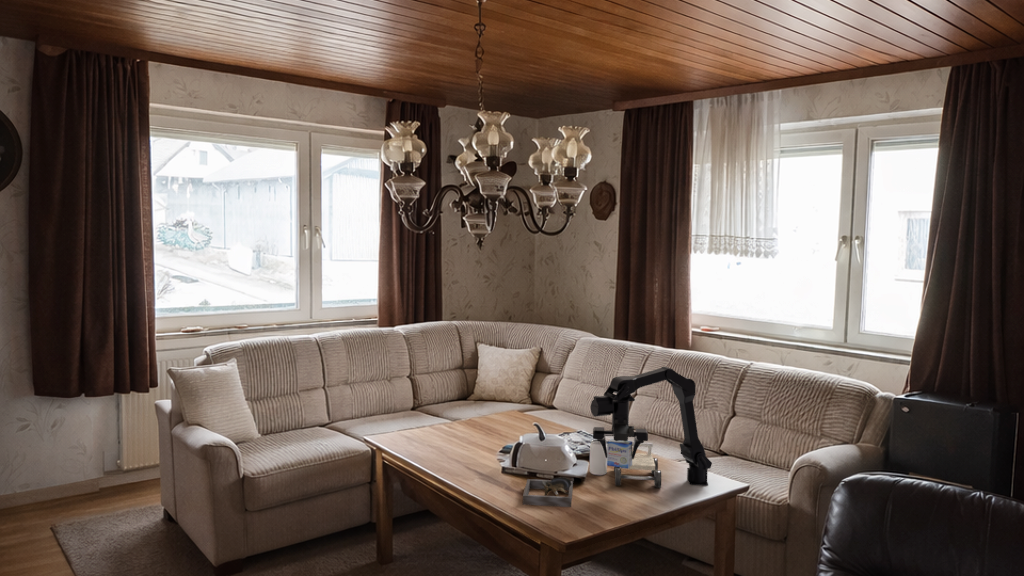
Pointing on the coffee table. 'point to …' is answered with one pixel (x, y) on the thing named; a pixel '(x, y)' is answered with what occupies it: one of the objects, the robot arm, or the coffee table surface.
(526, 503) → the gray square tray
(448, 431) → the coffee table surface
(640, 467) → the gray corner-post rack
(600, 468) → the can
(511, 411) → the coffee table surface
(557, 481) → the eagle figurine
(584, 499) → the coffee table surface
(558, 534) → the coffee table surface
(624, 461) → the medicine box
